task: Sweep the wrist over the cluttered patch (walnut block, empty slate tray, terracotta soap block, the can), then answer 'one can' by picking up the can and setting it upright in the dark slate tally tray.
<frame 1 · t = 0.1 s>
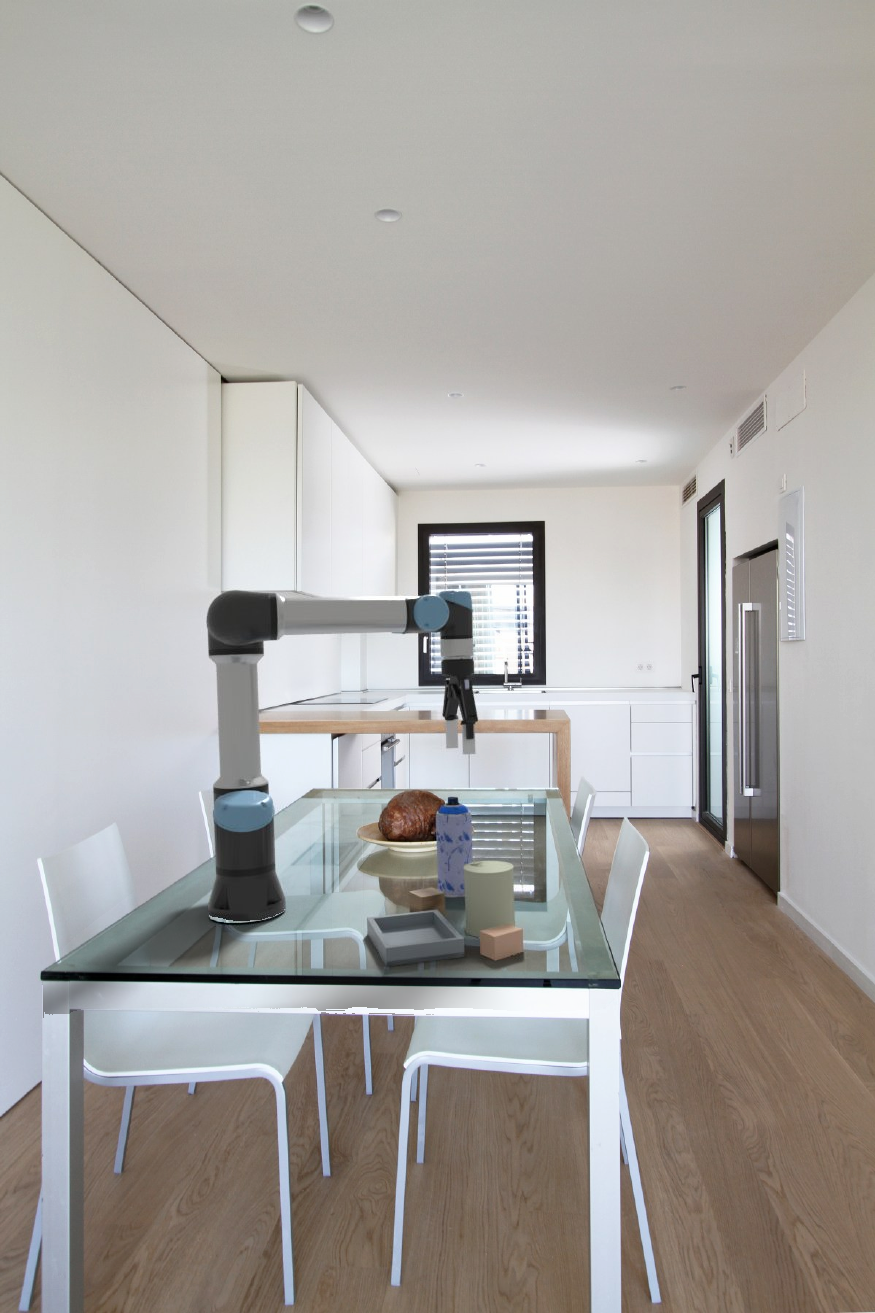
hand: (460, 751, 196), 28 cm above the table, fingers open, 13 cm apart
aerosol can: (456, 893, 181), on the table
tray: (413, 945, 148), on the table
walnut block: (427, 918, 164), on the table
can: (490, 931, 155), on the table
soap block: (501, 954, 143), on the table
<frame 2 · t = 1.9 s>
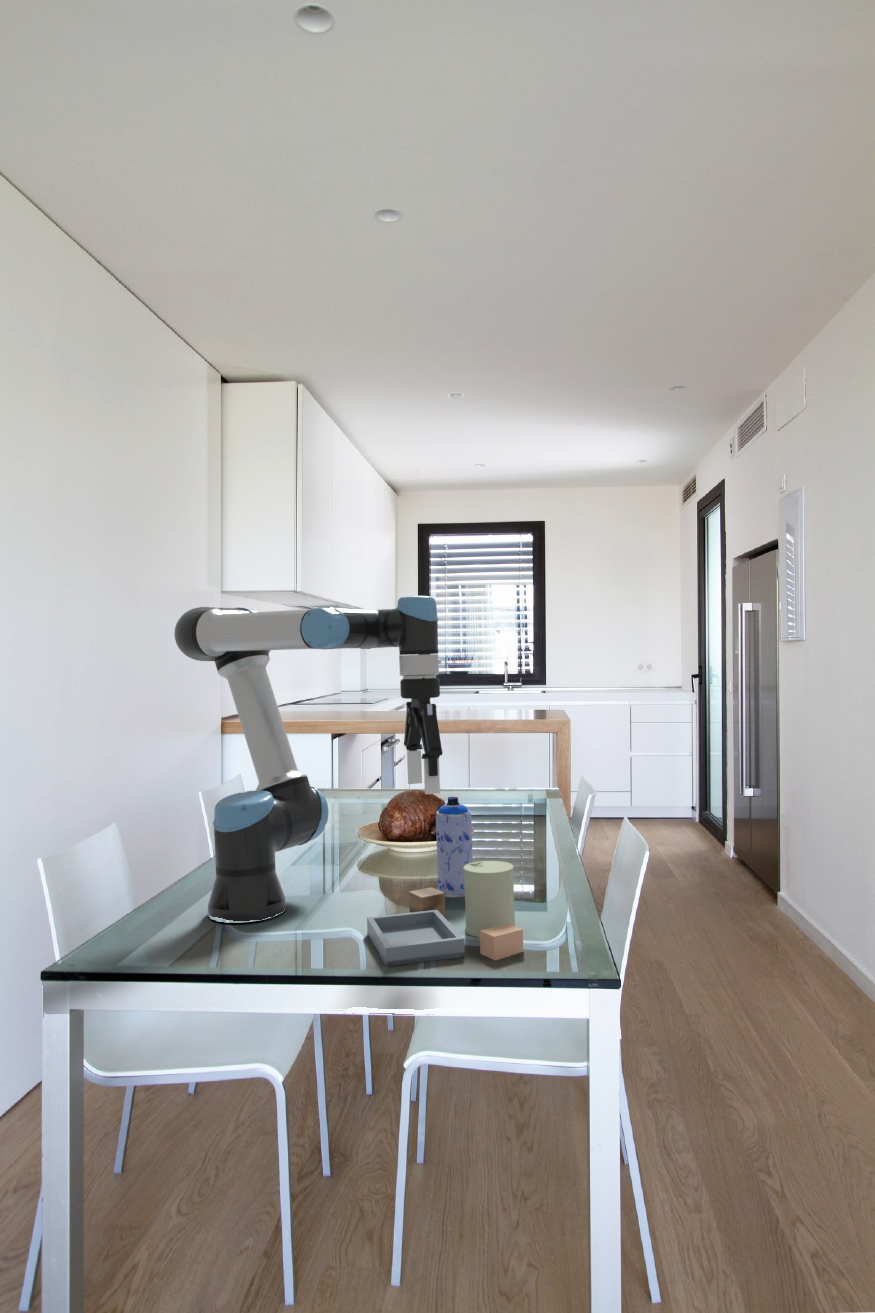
hand: (423, 788, 164), 25 cm above the table, fingers open, 13 cm apart
nothing on the table moved.
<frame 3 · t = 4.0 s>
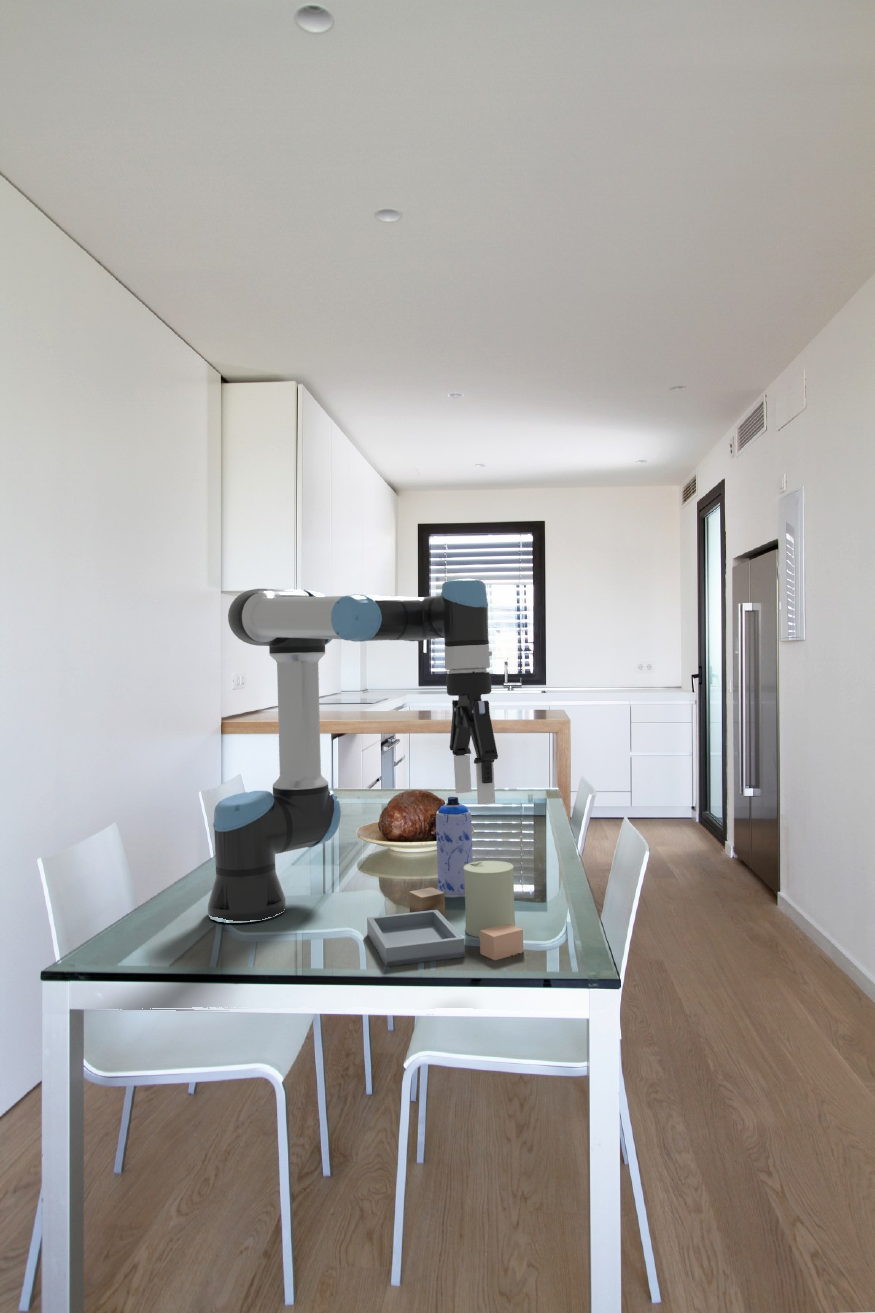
hand: (474, 798, 144), 26 cm above the table, fingers open, 13 cm apart
nothing on the table moved.
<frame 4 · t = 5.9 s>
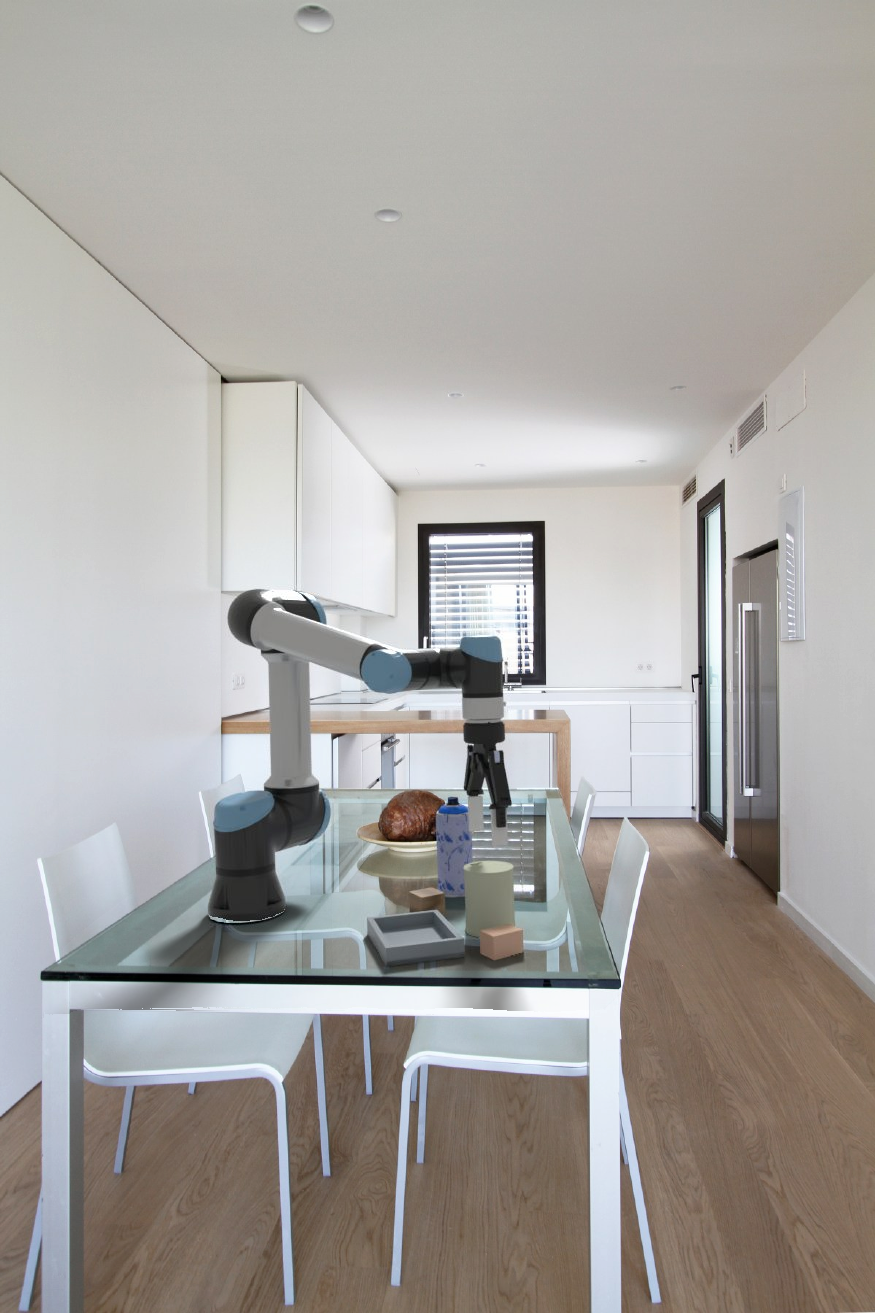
hand: (487, 838, 155), 17 cm above the table, fingers open, 13 cm apart
nothing on the table moved.
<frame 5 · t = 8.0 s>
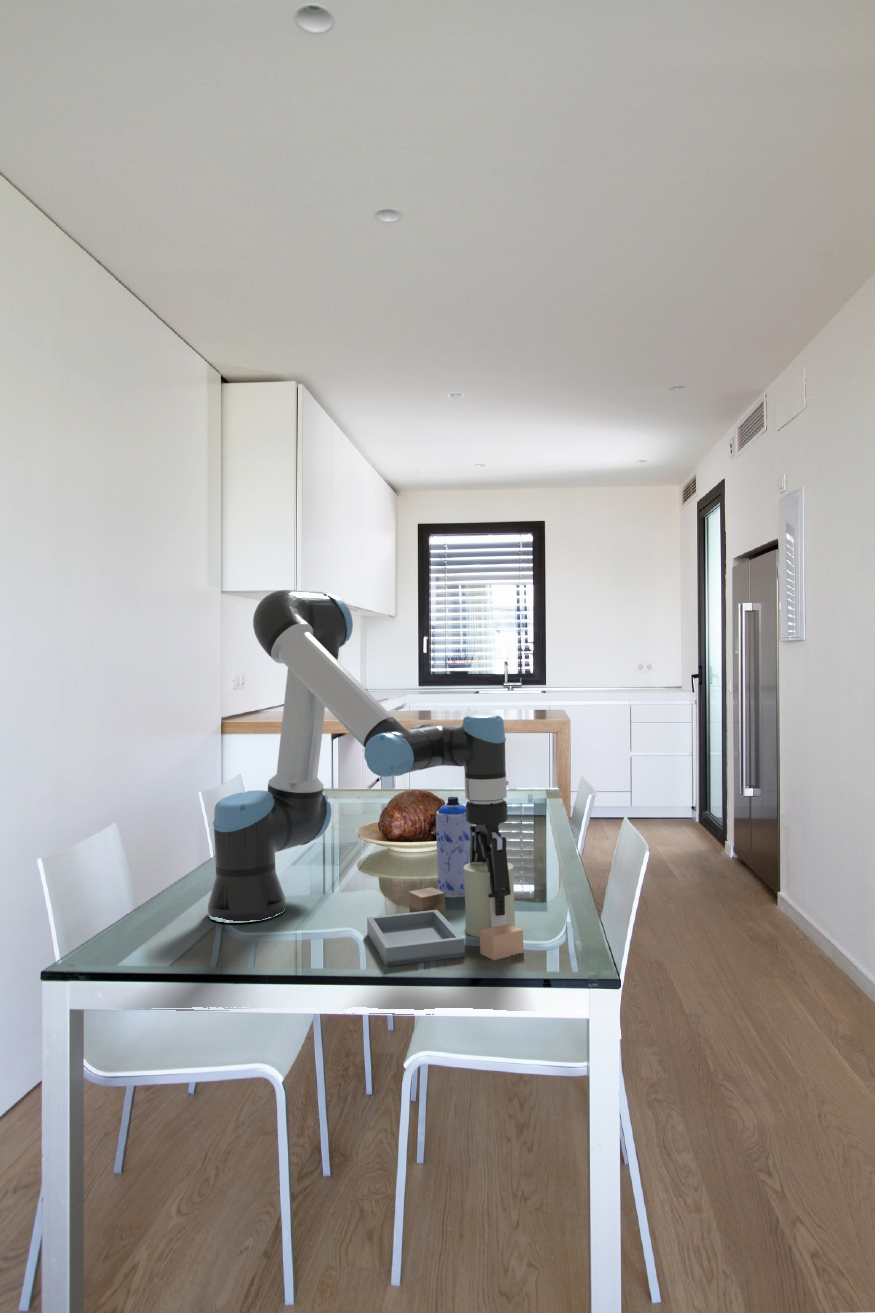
hand: (490, 924, 155), 1 cm above the table, fingers closed on can, 9 cm apart
can: (490, 931, 155), on the table, touching gripper
everything else where it was.
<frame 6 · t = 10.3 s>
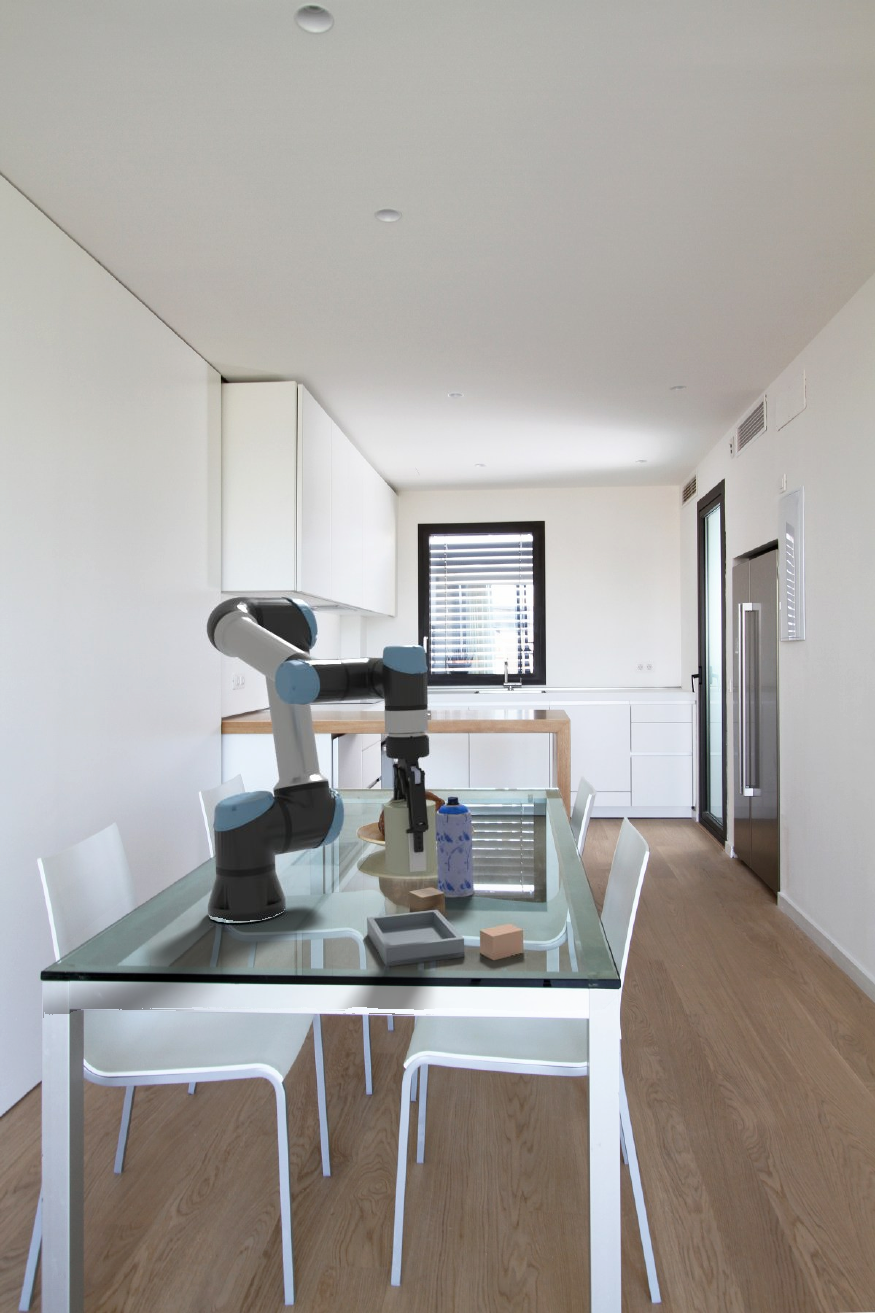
hand: (411, 864, 148), 14 cm above the table, fingers closed on can, 9 cm apart
can: (411, 871, 149), point 13 cm above the table, touching gripper
everything else where it was.
when the fingers open (4 cm above the table, at t = 12.6 s): can drops 2 cm, resting on tray.
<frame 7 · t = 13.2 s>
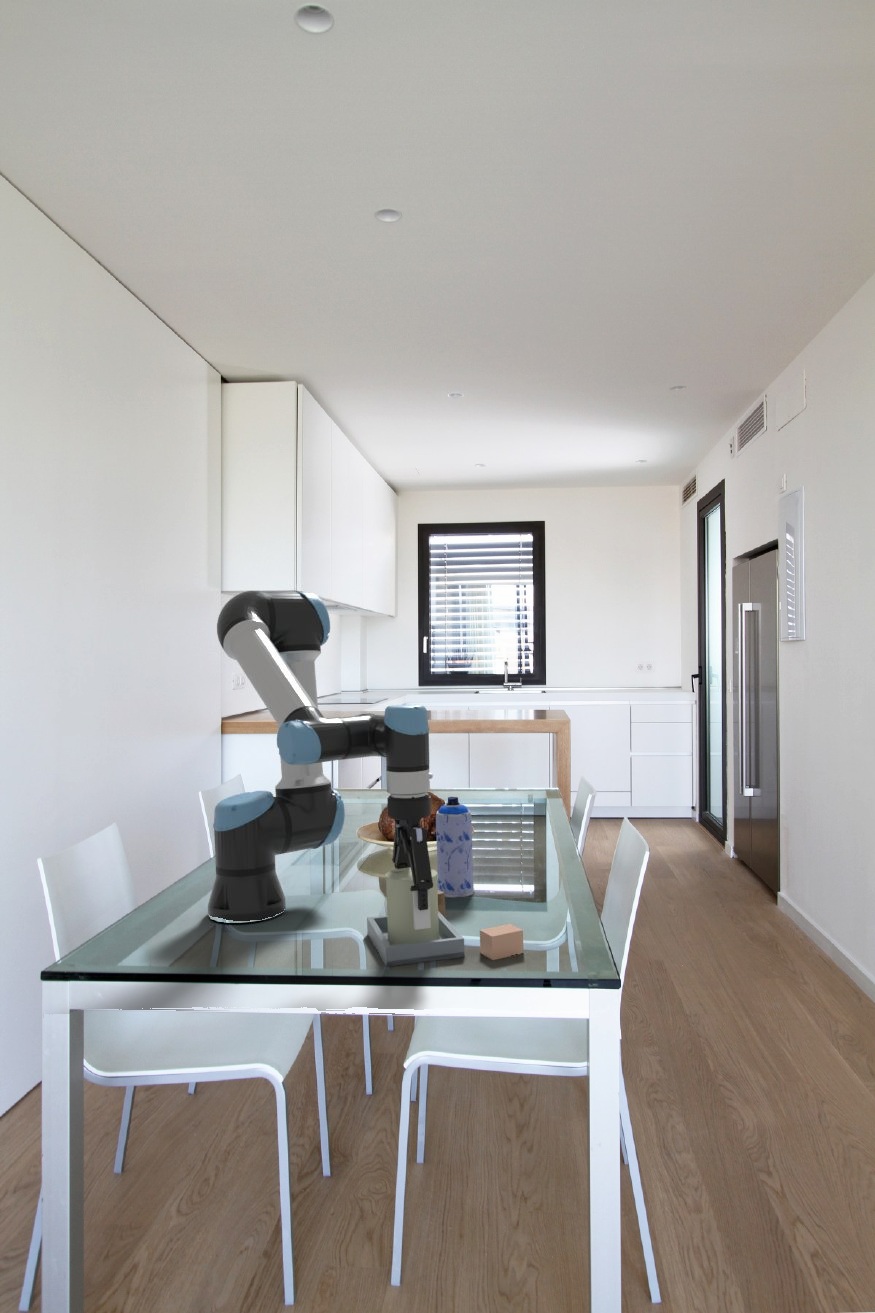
hand: (412, 916, 148), 5 cm above the table, fingers open, 13 cm apart
can: (413, 941, 148), point 1 cm above the table, touching tray
everything else where it was.
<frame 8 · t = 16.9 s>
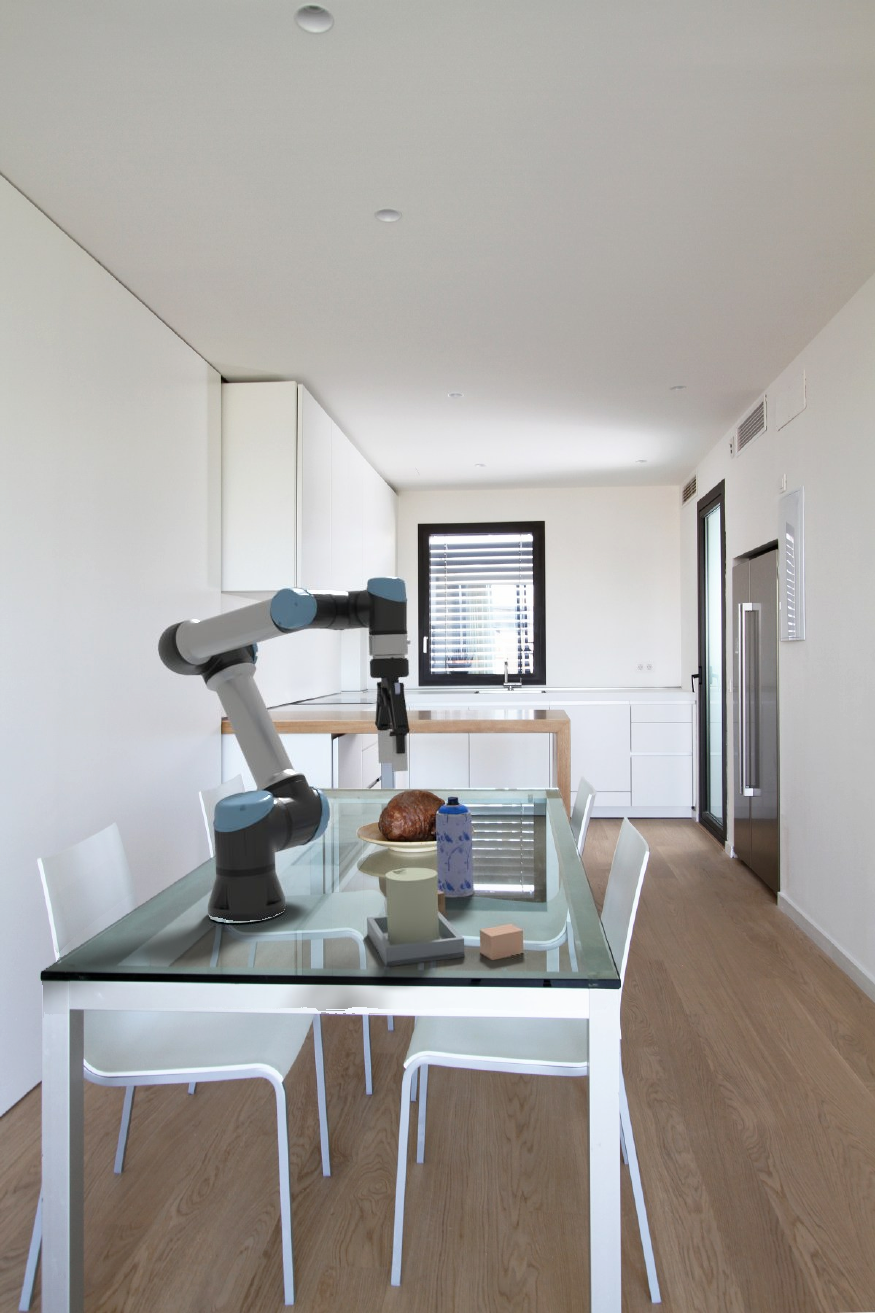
hand: (392, 766, 166), 29 cm above the table, fingers open, 13 cm apart
nothing on the table moved.
at the end: can inside the target area on the tray (0.0 cm from its centre), point 0.6 cm above the tray's base; can tilted 0°; the gripper is holding nothing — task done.
